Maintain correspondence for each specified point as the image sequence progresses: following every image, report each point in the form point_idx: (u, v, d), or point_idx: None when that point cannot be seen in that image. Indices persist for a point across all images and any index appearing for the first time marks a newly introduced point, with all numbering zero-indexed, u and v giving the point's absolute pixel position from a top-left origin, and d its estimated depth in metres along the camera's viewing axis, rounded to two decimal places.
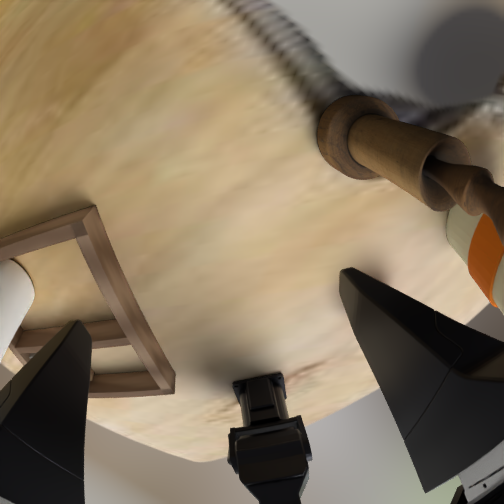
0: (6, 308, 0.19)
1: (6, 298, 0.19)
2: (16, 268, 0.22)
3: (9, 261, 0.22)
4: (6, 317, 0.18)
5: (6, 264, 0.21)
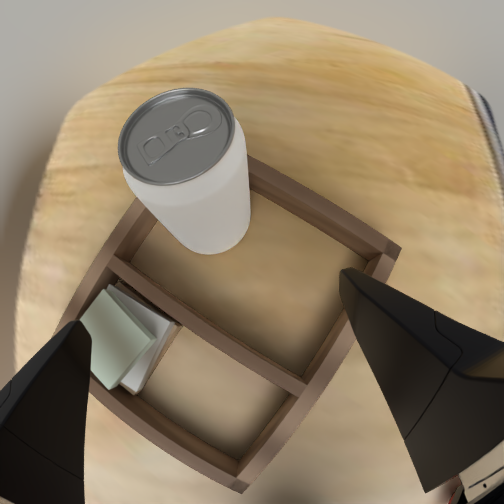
0: (243, 208, 0.18)
1: (247, 205, 0.19)
2: (250, 210, 0.23)
3: None
4: (238, 210, 0.17)
5: None
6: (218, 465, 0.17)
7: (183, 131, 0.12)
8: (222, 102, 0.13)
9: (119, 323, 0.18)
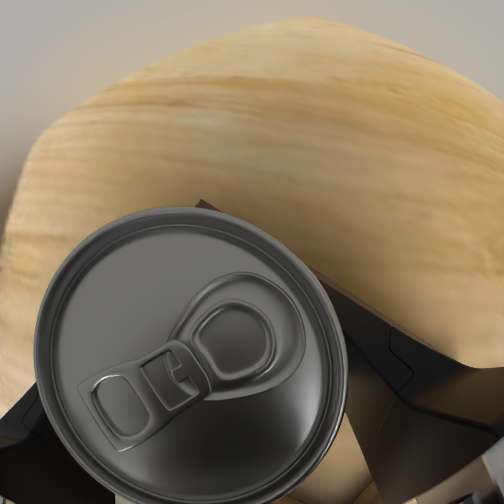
0: None
1: None
2: None
3: None
4: None
5: None
6: None
7: (193, 376, 0.04)
8: (309, 283, 0.04)
9: None
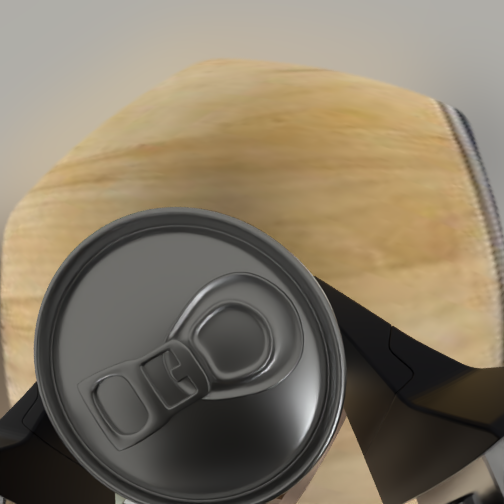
0: None
1: None
2: None
3: None
4: None
5: None
6: None
7: (193, 375, 0.04)
8: (307, 284, 0.04)
9: None
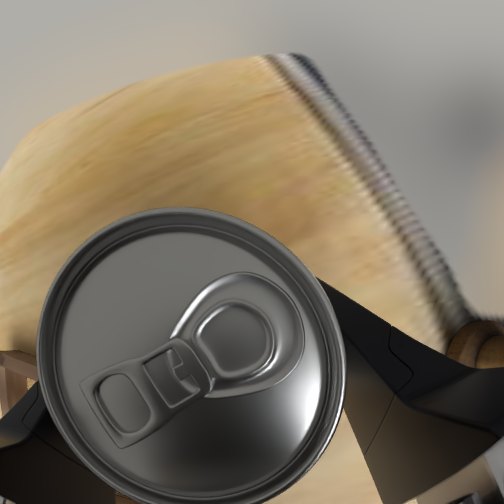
0: None
1: None
2: None
3: None
4: None
5: None
6: None
7: (195, 374, 0.04)
8: (308, 284, 0.04)
9: None
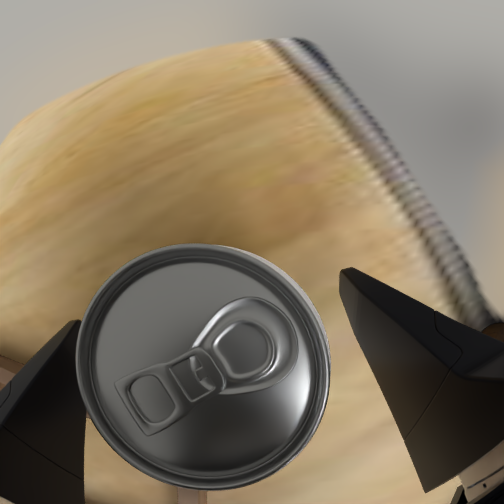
0: None
1: None
2: None
3: None
4: None
5: None
6: None
7: (212, 375, 0.06)
8: (302, 308, 0.06)
9: None
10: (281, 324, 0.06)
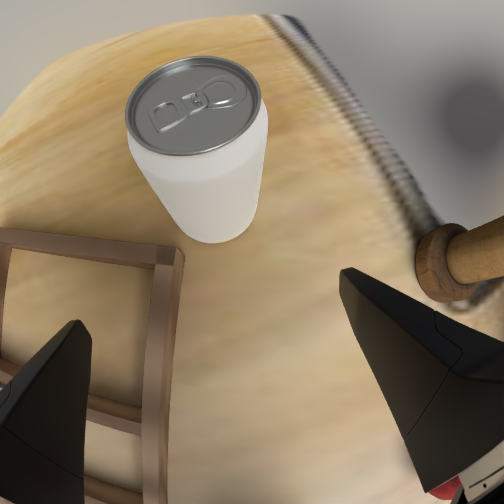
0: (253, 197, 0.16)
1: (257, 194, 0.17)
2: None
3: None
4: (248, 198, 0.16)
5: None
6: None
7: (201, 100, 0.11)
8: (249, 75, 0.11)
9: None
10: (239, 84, 0.11)
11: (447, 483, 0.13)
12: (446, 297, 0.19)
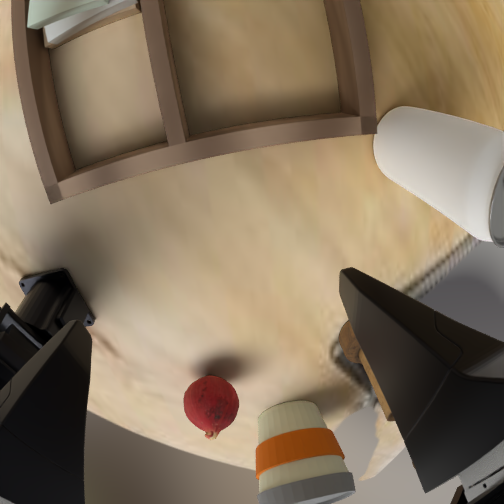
0: None
1: None
2: None
3: None
4: None
5: None
6: (54, 159, 0.15)
7: None
8: None
9: None
10: None
11: (206, 407, 0.25)
12: (347, 342, 0.28)
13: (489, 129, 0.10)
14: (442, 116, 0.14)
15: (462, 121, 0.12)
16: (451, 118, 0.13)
